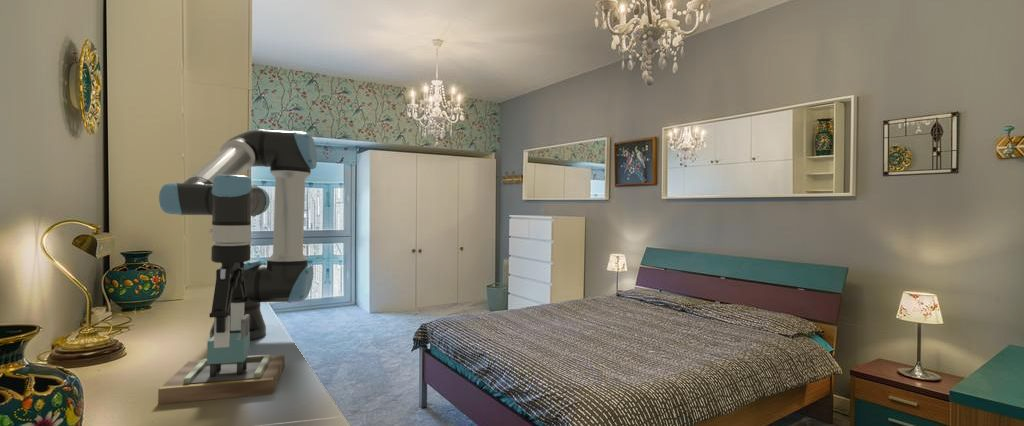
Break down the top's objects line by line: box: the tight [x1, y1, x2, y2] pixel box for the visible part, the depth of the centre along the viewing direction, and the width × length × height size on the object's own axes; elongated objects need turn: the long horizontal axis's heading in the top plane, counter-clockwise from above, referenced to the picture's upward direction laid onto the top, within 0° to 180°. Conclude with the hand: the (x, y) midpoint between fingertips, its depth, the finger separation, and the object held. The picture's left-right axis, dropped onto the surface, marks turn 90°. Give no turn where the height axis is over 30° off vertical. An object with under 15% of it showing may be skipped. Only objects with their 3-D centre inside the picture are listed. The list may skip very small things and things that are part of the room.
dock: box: [157, 353, 286, 405], centre depth 108 cm, size 18×21×4 cm
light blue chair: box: [206, 314, 251, 377], centre depth 106 cm, size 6×7×12 cm
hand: (229, 338), depth 106 cm, fingers open, 13 cm apart
